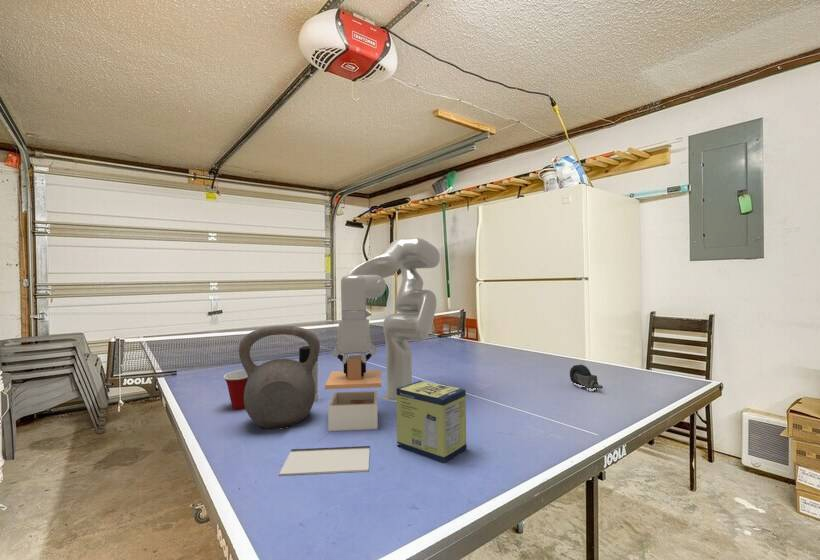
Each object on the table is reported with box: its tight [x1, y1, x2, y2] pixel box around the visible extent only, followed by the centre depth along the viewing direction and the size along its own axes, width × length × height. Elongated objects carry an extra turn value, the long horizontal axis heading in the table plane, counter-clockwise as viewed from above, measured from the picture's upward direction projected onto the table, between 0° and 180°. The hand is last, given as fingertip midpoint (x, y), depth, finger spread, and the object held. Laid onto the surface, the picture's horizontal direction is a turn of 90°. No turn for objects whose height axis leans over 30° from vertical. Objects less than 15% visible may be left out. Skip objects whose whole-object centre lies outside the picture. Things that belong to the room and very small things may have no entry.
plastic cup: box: [223, 369, 248, 410], centre depth 136 cm, size 11×11×12 cm
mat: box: [278, 445, 371, 477], centre depth 98 cm, size 20×20×1 cm
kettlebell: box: [238, 325, 321, 430], centre depth 120 cm, size 24×17×30 cm
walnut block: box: [350, 400, 370, 404], centre depth 120 cm, size 6×6×5 cm
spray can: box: [298, 345, 319, 402], centre depth 141 cm, size 7×7×20 cm
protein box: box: [396, 380, 468, 464], centre depth 101 cm, size 10×16×16 cm
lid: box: [324, 354, 382, 390], centre depth 118 cm, size 16×16×7 cm
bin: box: [327, 390, 379, 432], centre depth 118 cm, size 14×14×8 cm
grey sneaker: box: [569, 364, 603, 390], centre depth 154 cm, size 6×10×15 cm
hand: (355, 374), depth 119 cm, fingers closed on lid, 4 cm apart
